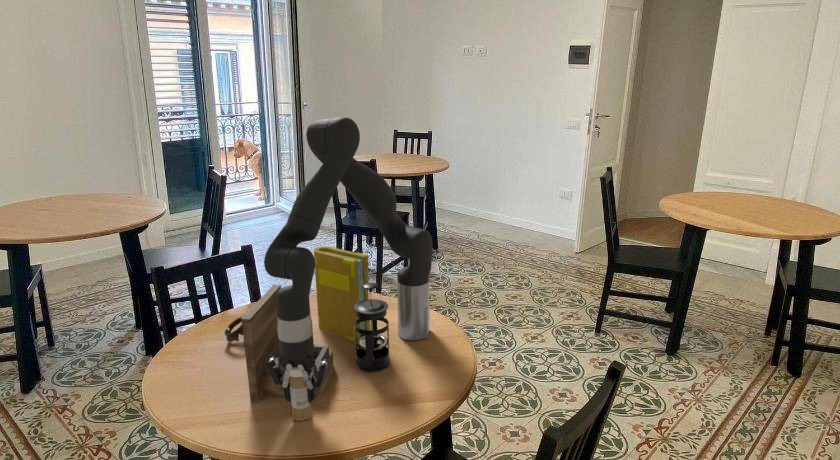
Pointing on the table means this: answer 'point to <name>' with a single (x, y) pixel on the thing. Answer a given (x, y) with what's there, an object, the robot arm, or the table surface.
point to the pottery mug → (234, 335)
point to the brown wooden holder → (270, 348)
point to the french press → (372, 333)
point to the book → (340, 289)
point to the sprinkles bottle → (299, 396)
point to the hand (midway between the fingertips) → (300, 399)
